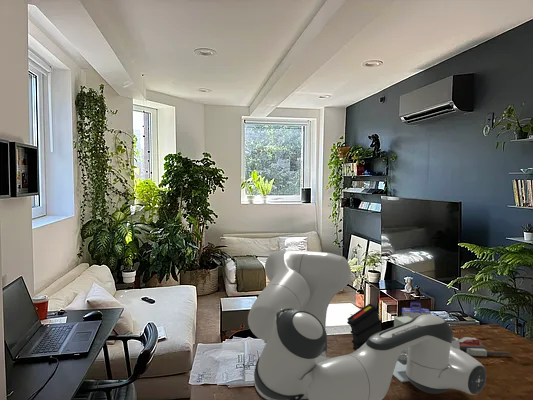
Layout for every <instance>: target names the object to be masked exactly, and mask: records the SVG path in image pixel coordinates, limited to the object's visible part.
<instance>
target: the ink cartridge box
mask: <svg viewBox="0 0 533 400" xmlns="http://www.w3.org/2000/svg"><path fill="white" fill-rule="evenodd" d="M414 305H416V306H414ZM423 314H430V315H432V313H431V310H430V309H428V308H422V305H421V302H413V301H412V302H410V307H401V317H404V316H409V317H411V318H412V319H413V318H415V317H416V316H419V315H423Z"/></svg>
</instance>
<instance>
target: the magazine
mask: <svg viewBox="0 0 533 400" xmlns="http://www.w3.org/2000/svg"><path fill="white" fill-rule="evenodd" d="M378 310H379V309H378V307H376V306H375V304H372V303H368V304H367V305H365V306H364V307H362V308H361V309H359V310H358V311H357V312H355V313H353V314H352V315H351V316H349V317H348V318H347V322H346V323H347V324H348V325H349V326H350V328H351V331H350V334H352V340H351V343H352V346H353V348H354V349H356V350H357V349H359V348H360V347H361V346H362V345H363V344H364V343H365V342H366V341H367V340H368V339H369V338H370V336H372V335H374V334H376V333H378V332H381V331H383V330H382V325H381V324H382V322H383V321H382V320H381V319H380V316H379V313H378Z"/></svg>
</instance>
